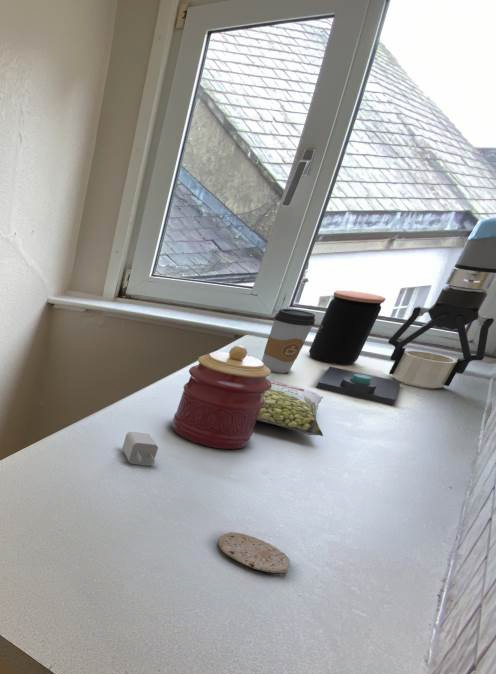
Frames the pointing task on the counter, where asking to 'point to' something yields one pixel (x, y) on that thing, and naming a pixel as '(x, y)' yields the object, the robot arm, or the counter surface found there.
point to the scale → (360, 386)
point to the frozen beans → (291, 408)
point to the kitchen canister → (222, 399)
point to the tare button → (361, 379)
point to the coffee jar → (345, 327)
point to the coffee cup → (287, 339)
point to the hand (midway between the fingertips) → (418, 378)
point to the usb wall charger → (140, 448)
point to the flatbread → (254, 552)
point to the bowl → (424, 369)
